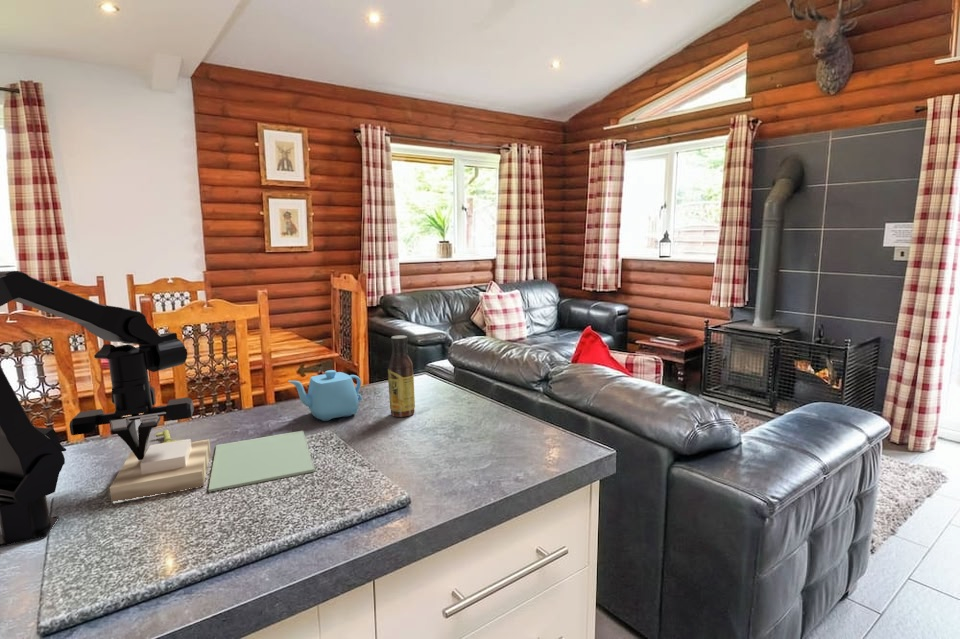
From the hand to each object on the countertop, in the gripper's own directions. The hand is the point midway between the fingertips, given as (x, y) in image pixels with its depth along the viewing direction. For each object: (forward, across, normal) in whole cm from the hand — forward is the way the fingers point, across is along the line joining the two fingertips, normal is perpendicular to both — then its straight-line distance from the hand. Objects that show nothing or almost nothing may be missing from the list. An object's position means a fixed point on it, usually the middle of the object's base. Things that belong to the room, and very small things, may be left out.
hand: (141, 459), depth 99 cm
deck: (+4, -4, 0) cm, 6 cm away
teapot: (+4, -37, -22) cm, 43 cm away
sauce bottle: (+4, -54, -12) cm, 55 cm away
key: (+5, -2, -20) cm, 20 cm away
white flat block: (+1, -4, 0) cm, 4 cm away
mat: (+4, -21, 0) cm, 21 cm away
